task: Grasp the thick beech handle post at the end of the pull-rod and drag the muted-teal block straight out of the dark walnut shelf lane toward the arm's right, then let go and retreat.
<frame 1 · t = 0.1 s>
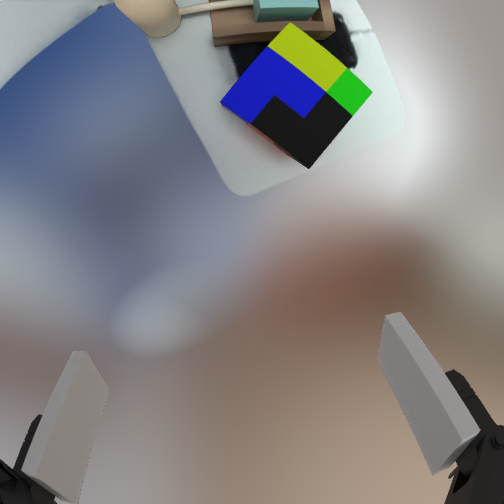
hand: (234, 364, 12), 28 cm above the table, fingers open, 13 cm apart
puzzle toy: (281, 100, 33), on the table
shelf lane: (260, 5, 27), on the table
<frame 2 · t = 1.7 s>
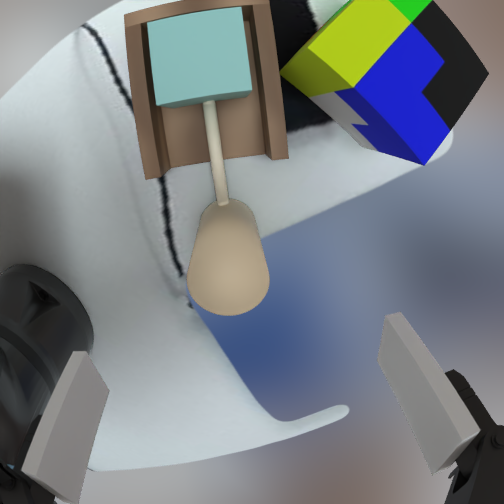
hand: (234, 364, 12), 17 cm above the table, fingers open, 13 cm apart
puzzle toy: (354, 72, 23), on the table
shelf lane: (208, 91, 22), on the table
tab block: (212, 151, 20), point 5 cm above the table, slide at 0.0 cm
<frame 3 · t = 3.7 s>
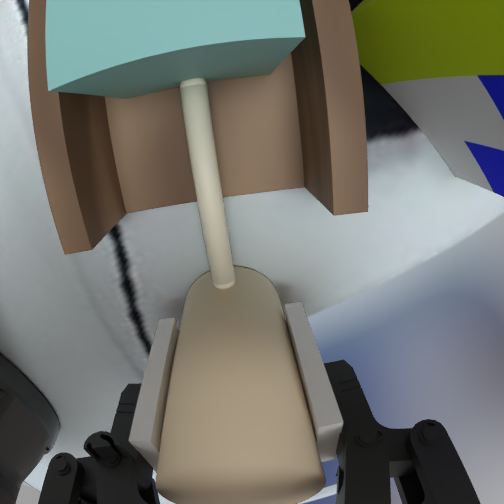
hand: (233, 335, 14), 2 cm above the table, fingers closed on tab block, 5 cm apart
puzzle toy: (445, 52, 11), on the table
shelf lane: (194, 64, 11), on the table
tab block: (197, 197, 8), point 5 cm above the table, slide at 0.0 cm, touching gripper
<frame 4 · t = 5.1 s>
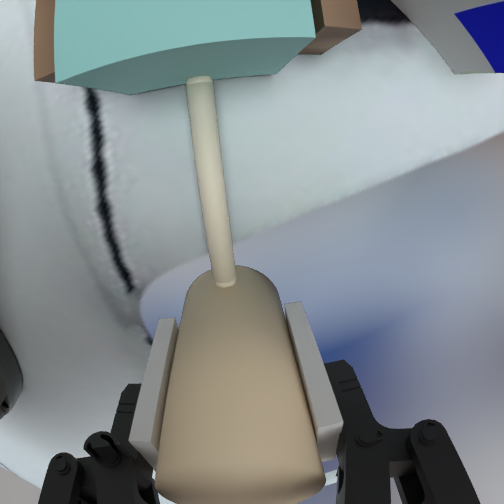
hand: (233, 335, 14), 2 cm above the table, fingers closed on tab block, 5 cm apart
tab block: (202, 194, 8), point 5 cm above the table, slide at 6.0 cm, touching gripper
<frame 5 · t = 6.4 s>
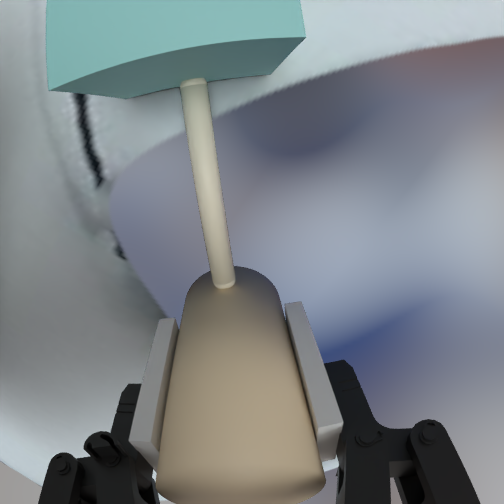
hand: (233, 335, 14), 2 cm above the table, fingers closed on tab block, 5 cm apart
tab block: (197, 197, 8), point 5 cm above the table, slide at 12.0 cm, touching gripper
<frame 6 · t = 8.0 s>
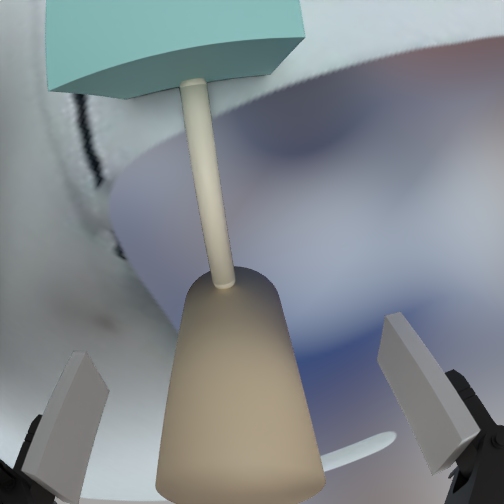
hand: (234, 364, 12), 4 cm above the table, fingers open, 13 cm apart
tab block: (197, 197, 8), point 5 cm above the table, slide at 12.0 cm
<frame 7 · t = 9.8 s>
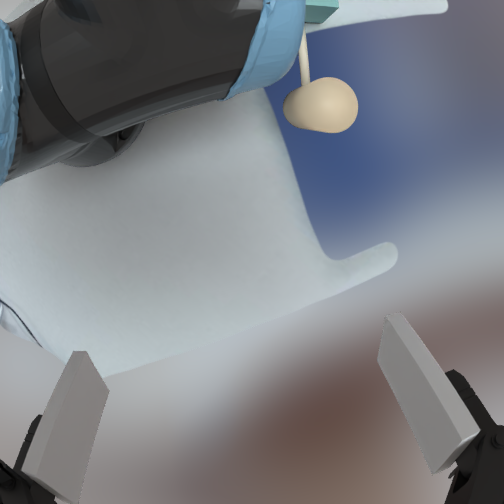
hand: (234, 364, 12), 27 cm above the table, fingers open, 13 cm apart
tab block: (310, 40, 24), point 5 cm above the table, slide at 12.0 cm
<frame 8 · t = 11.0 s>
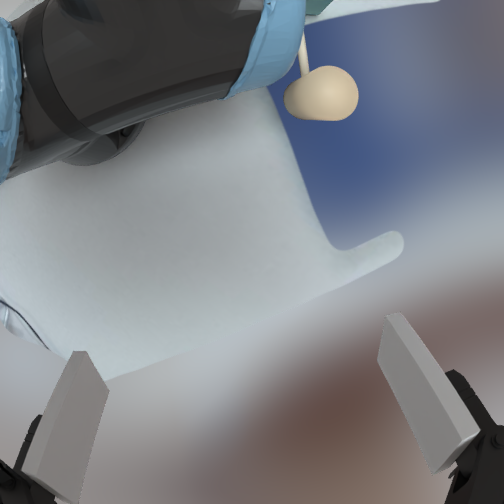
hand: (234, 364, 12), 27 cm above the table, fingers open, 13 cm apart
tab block: (307, 31, 24), point 5 cm above the table, slide at 12.0 cm
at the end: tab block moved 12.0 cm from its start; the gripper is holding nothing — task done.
